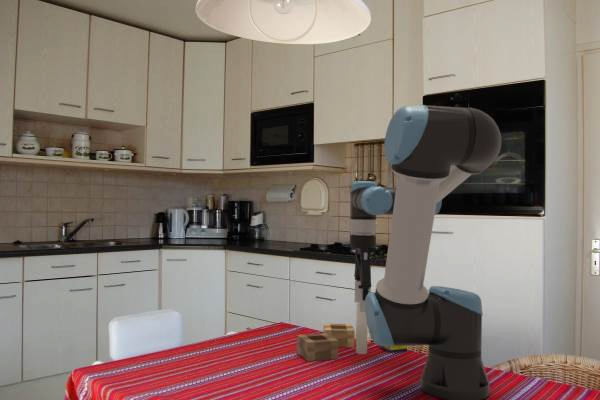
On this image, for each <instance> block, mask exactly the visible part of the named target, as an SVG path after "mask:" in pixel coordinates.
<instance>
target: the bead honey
mask: <svg viewBox="0 0 600 400" xmlns="http://www.w3.org/2000/svg"><path fill="white" fill-rule="evenodd" d="M322 333H327V334H328V335H330V336H332V337H333V338H335V339H337V340H338V348H355V338H356V330H355V328H354V326H353V324H352V323H323V331H322Z"/></svg>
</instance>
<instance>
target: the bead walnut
mask: <svg viewBox="0 0 600 400" xmlns="http://www.w3.org/2000/svg"><path fill="white" fill-rule="evenodd" d="M296 353H297V355H299V356H300V357H302V358H303V359H304V360H306V361H307V362H316V361H327V360H328V361H329V360H337V359H339V347H338V340H337V339H335V338H333V337H332V336H330V335H328V334H327V333H323V332H322V333H309V334H296Z"/></svg>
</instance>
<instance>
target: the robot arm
mask: <svg viewBox="0 0 600 400" xmlns="http://www.w3.org/2000/svg"><path fill="white" fill-rule="evenodd" d="M384 136H385V137H384V157H385V160H386V161H387V162H388V163H389V164H391V171H392V173H393V174H394V175H395V176H396V179H397V181H396V187H385V186H383V187H382V186H377V182H375V181H368V180H367V181H366V180H355V181H353V182H352V183H351V185H350V186H351V187H350V219H349V233H351V234H350V235H349V246H350V248H353V249H355V255H354V259H355V261H354V262H355V263H354V274H353V276H354V303H356V304H357V303H360V312H365V314H366V321H367V331H368V332H369V336H370V338H371V340H372V341H373V342H374V344H376V345H378V346H380V345H381V346H392V347H394V346H407V347H408V346H428V356H427V358H426V361H425V364H424V367H423V371H422V372H421V375H420V376H421V377H420V388H421V389H422V391H424V392H425V393H427V394H429V395H430V396H434V397H436V398H440V399H444V400H484V399H487V398H488V397H489V396H490V381H489V379H488V375H487V372H486V369H485V366H484V362H483V360H482V359H483V358H482V346H483V345H482V343H483V342H482V341H483V340H482V338H483V337H482V335H483V334H482V333H483V332H482V331H483V325H482V323H483V315H484V314H483V306H482V298H481V297H480V295H478V294H477V293H474V292H472V291H468V290H463V289H459V288H453V287H448V286H447V287H446V286H442V285H441V286H439V285H432V286H430V287H429V289H427V287H425V285H424V282H425V277H426V276H425V275H426V270H427V263H428V258H429V252H430V244H431V239H432V234H433V226H434V221H435V220H434V219H435V216H436V215H437V214H439V212H440V210H441V207H442V202H443V201H442V200H443V199H444V198H446V196H448V195H449V194H450V193H451V192H453V191H454V190H455V189H456V188H457V187H458V186H460V185H461V184H462V183H463V182H464V181H466V180H467V179H468V178H469V177H470V176H471V175H478V174H481V173H482V172H484V171H485V170H486V169H487V168H489V167H490V166H491V165H492V164H493V163H494V162H495V161H496V159H497V157H498V156H499V154H500V152H501V148H502V134H501V132H500V129H499V126H498V124H497V123H496V121H495V120H494V118H492V117H491V116H490V114H488V113H486V112H484V111H482V110H481V109H477V108H473V107H455V106H454V107H453V106H442V105H441V106H439V105H426V104H418V105H404V106H401V107H400V108H398V109H397V110H396V111H395V112H394V114H393V115H392V116H391V119H390V120H389V123H388V126H387V129H386V132H385V135H384ZM383 215H384V216H385V215H387V216H392V217H391V225H390V233H389V238H388V247H387V255H386V260H385V270H384V277H383V278H381V279H380V280H378V281H377V283H376V286H375V292H371V288H372V281H371V280H372V279H371V277H372V276H371V274H372V273H371V253H370V252H369V250H368V249H375V248H376V245H377V244H376V243H377V236H376V233H377V227H378V226H379V223H378V222H377V216H383Z"/></svg>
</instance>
